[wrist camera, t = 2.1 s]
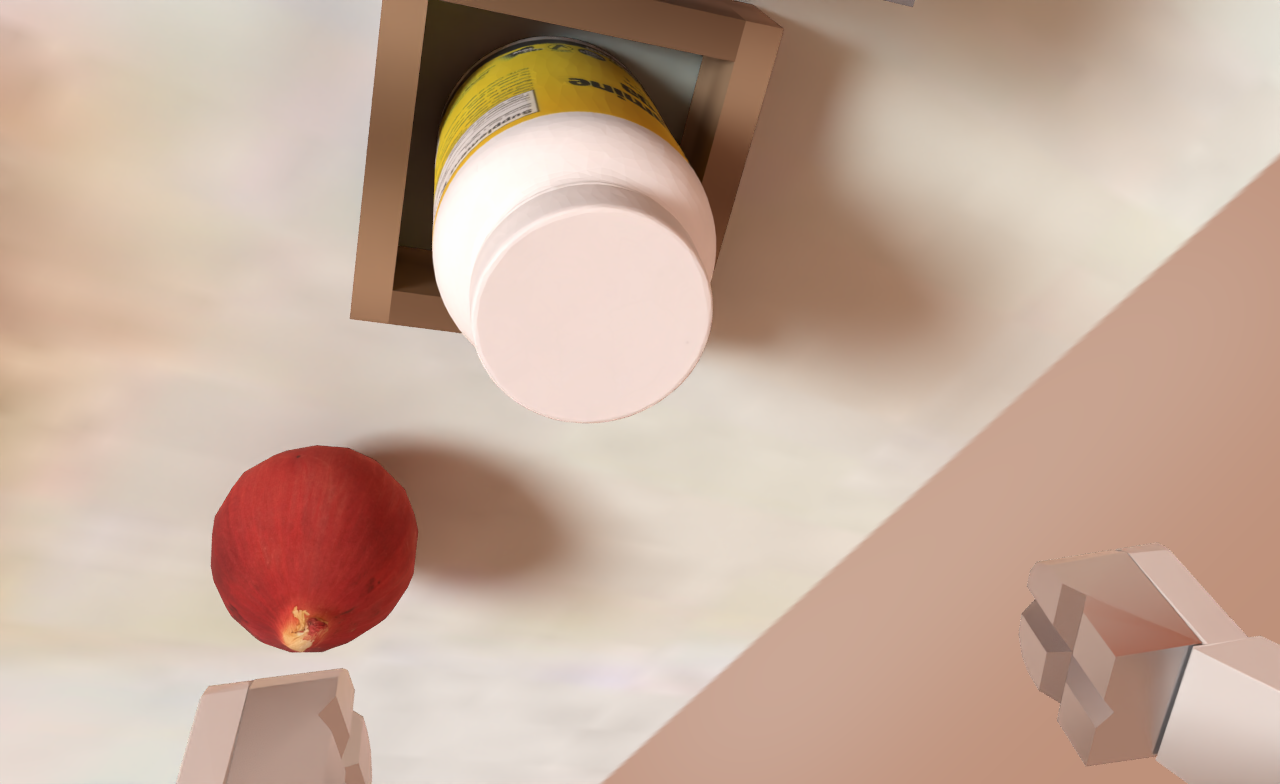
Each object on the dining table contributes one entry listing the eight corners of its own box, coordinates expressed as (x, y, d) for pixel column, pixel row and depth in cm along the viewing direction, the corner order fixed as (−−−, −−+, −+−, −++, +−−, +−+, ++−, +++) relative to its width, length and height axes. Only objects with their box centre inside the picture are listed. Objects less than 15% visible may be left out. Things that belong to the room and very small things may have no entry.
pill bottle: (698, 154, 29) (814, 333, 20) (537, 284, 31) (575, 509, 22) (561, -23, 26) (623, 93, 17) (387, 130, 28) (358, 316, 18)
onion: (409, 547, 35) (400, 731, 28) (232, 534, 34) (179, 726, 27) (429, 406, 32) (426, 573, 26) (238, 385, 31) (180, 558, 24)
